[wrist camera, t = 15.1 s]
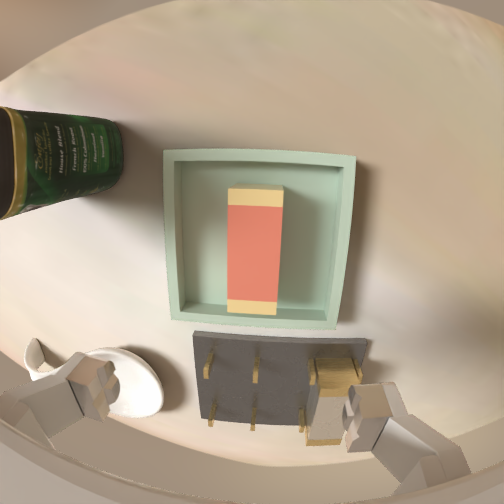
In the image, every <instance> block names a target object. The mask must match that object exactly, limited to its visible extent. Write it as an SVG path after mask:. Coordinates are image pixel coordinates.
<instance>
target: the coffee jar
mask: <svg viewBox="0 0 504 504" xmlns="http://www.w3.org/2000/svg"><path fill="white" fill-rule="evenodd" d="M122 167H123V147H122V139H121V135H120V132H119V130H118V127H117V126H116V125H115V124H114V123H113V122H112V121H110V120H107V119H103V118H96V117H88V116H78V115H68V114H58V113H48V112H36V111H23V110H16V109H12V108H8V107H1V106H0V220H3V219H6V218H9V217H12V216H15V215H18V214H21V213H24V212H28V211H31V210H35V209H38V208H41V207H44V206H48V205H51V204H55V203H58V202H61V201H65V200H69V199H73V198H78V197H82V196H86V195H90V194H93V193H97V192H101V191H104V190H107V189H109V188H111V187H112V186H113V185H114V184H115V183H116V182H117V181H118V179H119V177H120V175H121V172H122Z"/></svg>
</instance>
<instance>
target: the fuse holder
mask: <svg viewBox="0 0 504 504" xmlns="http://www.w3.org/2000/svg"><path fill="white" fill-rule="evenodd" d="M366 346H367V342H366V339H365V338H354V339H336V338H291V337H269V336H252V335H238V334H225V333H213V332H203V331H194V333H193V347H194V358H195V368H196V378H197V387H198V396H199V404H200V412H201V418H203V419H208V425H209V426H210V427H213V423H214V420H219V421H228V422H238V423H251V430H250V431H255V424H267V425H299V432H304V428H305V440H306V446H323V445H340V443H341V440H342V436H343V434H344V431H345V429H344V428H343V423H342V413H343V407H344V404H345V402H346V401H347V400H349V396H348V391H349V388H350V386H351V385H359V384H361V381H362V378H363V374H362V371H361V364H362V361H363V357H364V354H365V350H366Z"/></svg>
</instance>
